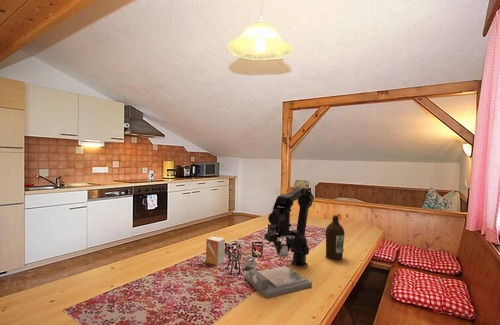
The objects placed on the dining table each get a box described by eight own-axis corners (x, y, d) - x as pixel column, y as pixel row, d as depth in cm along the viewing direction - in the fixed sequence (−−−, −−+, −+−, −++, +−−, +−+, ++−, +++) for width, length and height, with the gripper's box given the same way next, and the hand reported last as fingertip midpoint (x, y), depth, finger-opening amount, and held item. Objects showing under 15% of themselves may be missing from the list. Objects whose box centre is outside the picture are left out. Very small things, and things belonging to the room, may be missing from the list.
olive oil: (321, 256, 162) (322, 214, 161) (332, 253, 167) (334, 213, 167) (335, 262, 153) (337, 218, 152) (347, 258, 158) (349, 216, 158)
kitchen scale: (285, 269, 140) (286, 259, 140) (311, 286, 122) (312, 274, 122) (244, 278, 128) (244, 266, 128) (265, 298, 111) (266, 285, 111)
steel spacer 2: (283, 252, 136) (284, 242, 136) (289, 256, 132) (290, 245, 131) (275, 254, 134) (275, 243, 134) (281, 257, 129) (281, 247, 129)
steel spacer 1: (251, 265, 145) (251, 255, 144) (256, 268, 140) (256, 259, 140) (243, 266, 142) (243, 257, 142) (247, 270, 138) (248, 260, 138)
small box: (205, 262, 146) (206, 238, 146) (212, 258, 152) (213, 235, 151) (217, 265, 142) (218, 241, 142) (224, 262, 148) (225, 238, 148)
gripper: (289, 216, 144) (288, 245, 144) (259, 219, 135) (258, 250, 135) (302, 221, 134) (301, 252, 134) (271, 224, 125) (270, 257, 125)
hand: (282, 252), depth 133 cm, fingers closed on steel spacer 2, 5 cm apart
